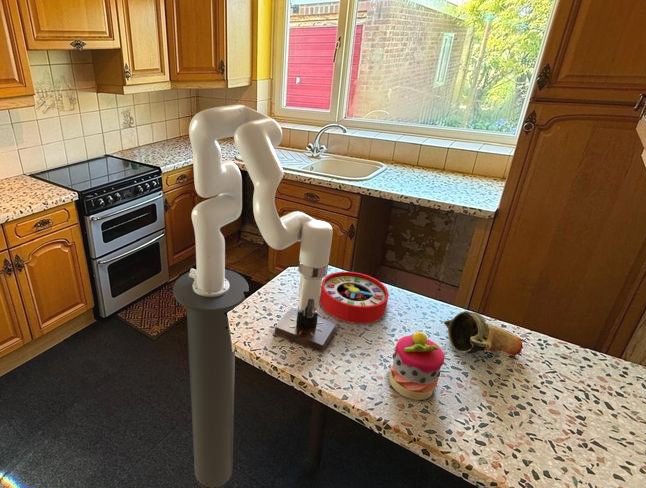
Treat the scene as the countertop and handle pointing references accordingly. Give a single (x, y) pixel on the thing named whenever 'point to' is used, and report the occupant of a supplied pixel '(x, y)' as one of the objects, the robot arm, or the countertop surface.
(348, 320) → the toy clock
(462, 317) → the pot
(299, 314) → the dial
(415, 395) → the cake
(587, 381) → the countertop surface
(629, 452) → the countertop surface
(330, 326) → the panel
